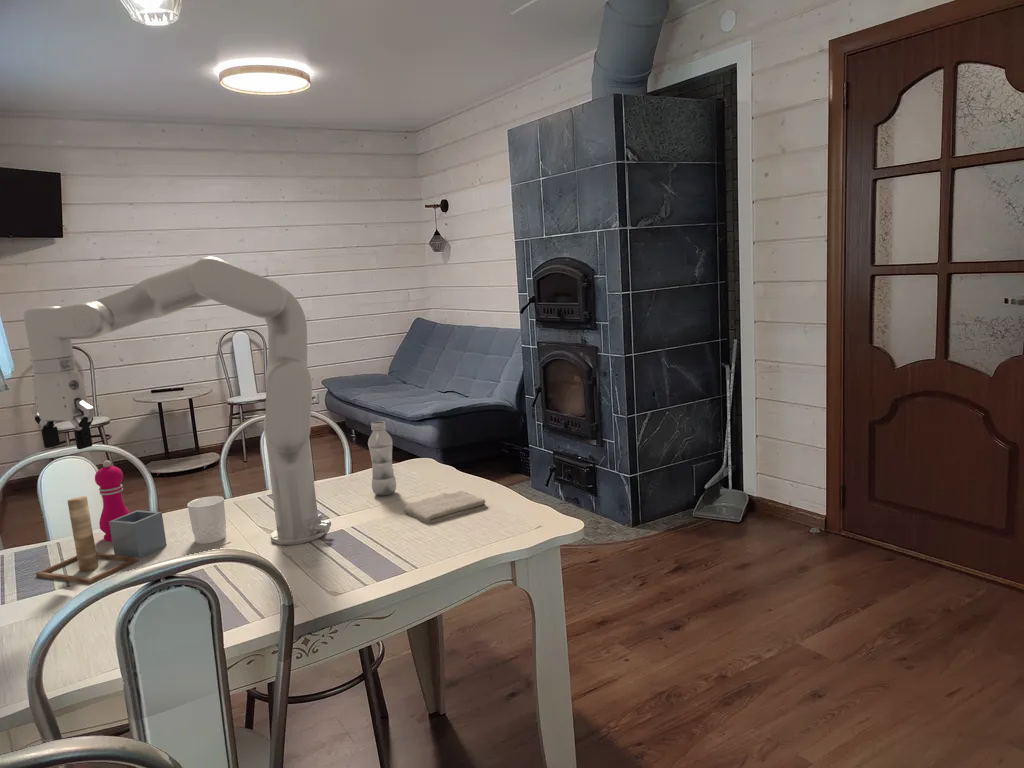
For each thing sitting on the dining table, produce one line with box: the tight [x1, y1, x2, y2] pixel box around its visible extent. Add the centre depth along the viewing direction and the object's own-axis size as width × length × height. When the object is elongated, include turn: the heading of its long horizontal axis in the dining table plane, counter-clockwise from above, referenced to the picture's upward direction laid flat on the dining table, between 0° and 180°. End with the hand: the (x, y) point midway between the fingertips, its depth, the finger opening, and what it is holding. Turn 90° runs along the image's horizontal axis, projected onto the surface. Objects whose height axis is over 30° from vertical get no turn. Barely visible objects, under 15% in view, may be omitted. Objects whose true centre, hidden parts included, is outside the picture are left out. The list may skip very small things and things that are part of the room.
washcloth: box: [403, 490, 487, 524], centre depth 184 cm, size 12×18×3 cm, turn 127°
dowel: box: [67, 495, 99, 573], centre depth 158 cm, size 4×4×16 cm
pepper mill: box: [94, 459, 131, 542], centre depth 177 cm, size 7×7×20 cm
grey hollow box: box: [109, 509, 168, 559], centre depth 168 cm, size 8×8×9 cm
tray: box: [35, 552, 140, 585], centre depth 159 cm, size 16×12×2 cm
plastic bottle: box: [367, 420, 397, 496], centre depth 200 cm, size 6×7×20 cm
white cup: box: [186, 495, 227, 545], centre depth 173 cm, size 8×8×10 cm
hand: (68, 447), depth 155 cm, fingers open, 9 cm apart
